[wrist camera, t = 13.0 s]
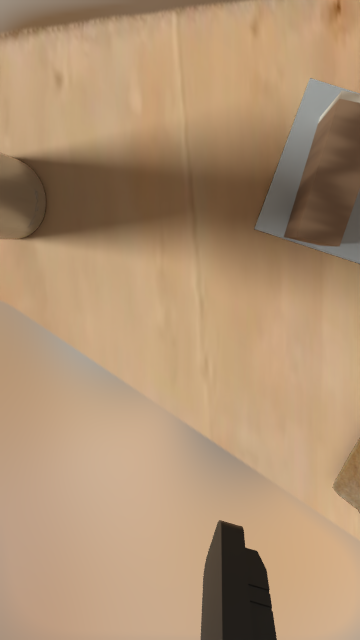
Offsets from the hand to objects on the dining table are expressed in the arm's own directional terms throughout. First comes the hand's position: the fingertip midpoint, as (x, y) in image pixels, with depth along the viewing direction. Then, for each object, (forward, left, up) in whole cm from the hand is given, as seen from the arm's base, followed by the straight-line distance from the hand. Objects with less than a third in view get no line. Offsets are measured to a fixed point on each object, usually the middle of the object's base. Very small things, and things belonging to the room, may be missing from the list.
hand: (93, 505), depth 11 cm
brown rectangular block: (+10, +12, -26) cm, 31 cm away
